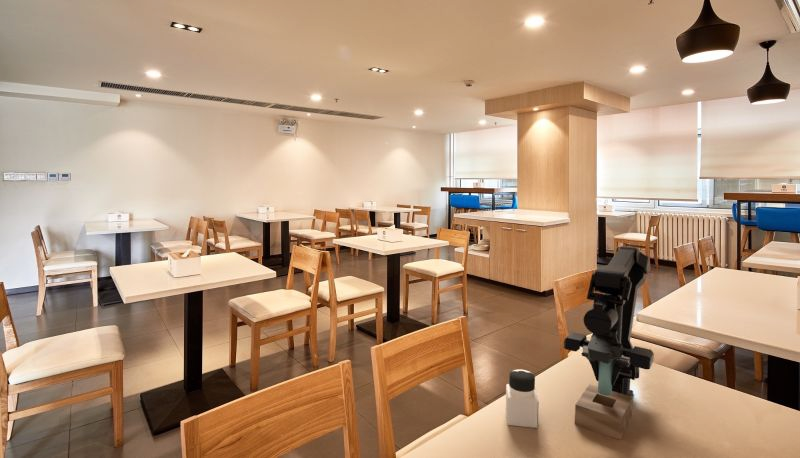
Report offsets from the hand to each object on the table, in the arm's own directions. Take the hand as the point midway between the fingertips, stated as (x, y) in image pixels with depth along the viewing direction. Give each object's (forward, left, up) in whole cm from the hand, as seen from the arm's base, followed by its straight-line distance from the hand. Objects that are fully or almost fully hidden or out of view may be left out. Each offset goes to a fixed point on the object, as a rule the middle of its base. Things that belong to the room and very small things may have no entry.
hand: (605, 382), depth 99 cm
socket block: (0, 0, -10) cm, 10 cm away
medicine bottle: (+12, -16, -10) cm, 22 cm away
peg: (0, 0, -3) cm, 3 cm away
